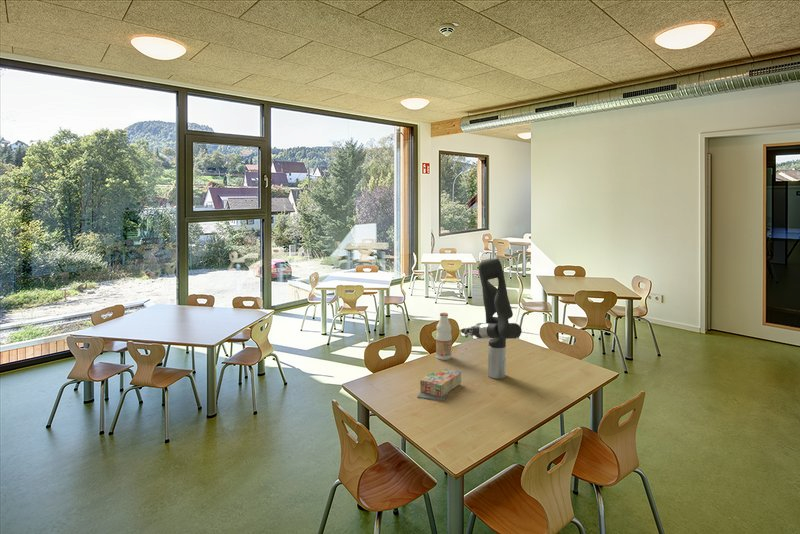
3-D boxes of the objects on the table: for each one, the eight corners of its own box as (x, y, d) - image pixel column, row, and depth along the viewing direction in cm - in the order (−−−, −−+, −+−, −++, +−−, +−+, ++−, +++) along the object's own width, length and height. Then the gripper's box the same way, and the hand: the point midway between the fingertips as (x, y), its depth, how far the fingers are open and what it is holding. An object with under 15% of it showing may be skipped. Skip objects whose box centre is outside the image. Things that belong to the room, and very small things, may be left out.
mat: (454, 382, 246) (454, 381, 245) (443, 401, 223) (443, 400, 223) (430, 379, 250) (430, 378, 250) (417, 397, 227) (417, 396, 227)
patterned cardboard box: (461, 383, 243) (441, 378, 251) (461, 372, 242) (441, 367, 250) (440, 397, 226) (419, 391, 233) (440, 385, 225) (419, 379, 233)
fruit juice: (433, 358, 283) (434, 314, 279) (439, 354, 291) (439, 311, 287) (448, 361, 279) (448, 316, 275) (453, 356, 287) (453, 312, 283)
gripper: (492, 318, 228) (469, 319, 242) (473, 328, 221) (451, 328, 235) (496, 333, 228) (473, 333, 243) (478, 343, 221) (455, 342, 236)
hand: (462, 330), depth 239 cm, fingers closed
